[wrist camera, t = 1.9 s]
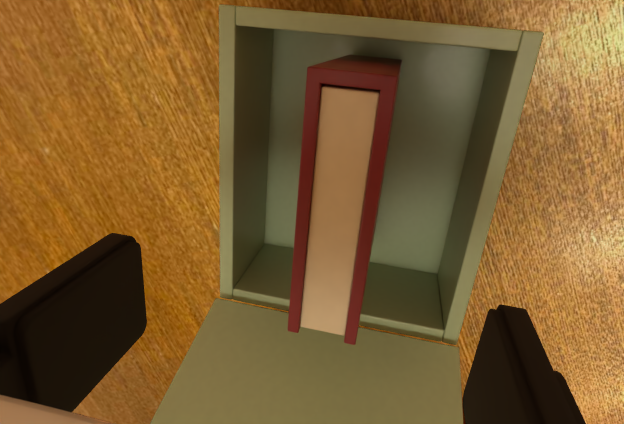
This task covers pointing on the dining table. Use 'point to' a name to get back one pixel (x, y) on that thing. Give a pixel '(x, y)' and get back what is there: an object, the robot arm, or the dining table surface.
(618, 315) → the dining table surface
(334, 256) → the book
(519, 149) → the dining table surface
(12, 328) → the robot arm
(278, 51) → the chest
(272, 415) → the lid
